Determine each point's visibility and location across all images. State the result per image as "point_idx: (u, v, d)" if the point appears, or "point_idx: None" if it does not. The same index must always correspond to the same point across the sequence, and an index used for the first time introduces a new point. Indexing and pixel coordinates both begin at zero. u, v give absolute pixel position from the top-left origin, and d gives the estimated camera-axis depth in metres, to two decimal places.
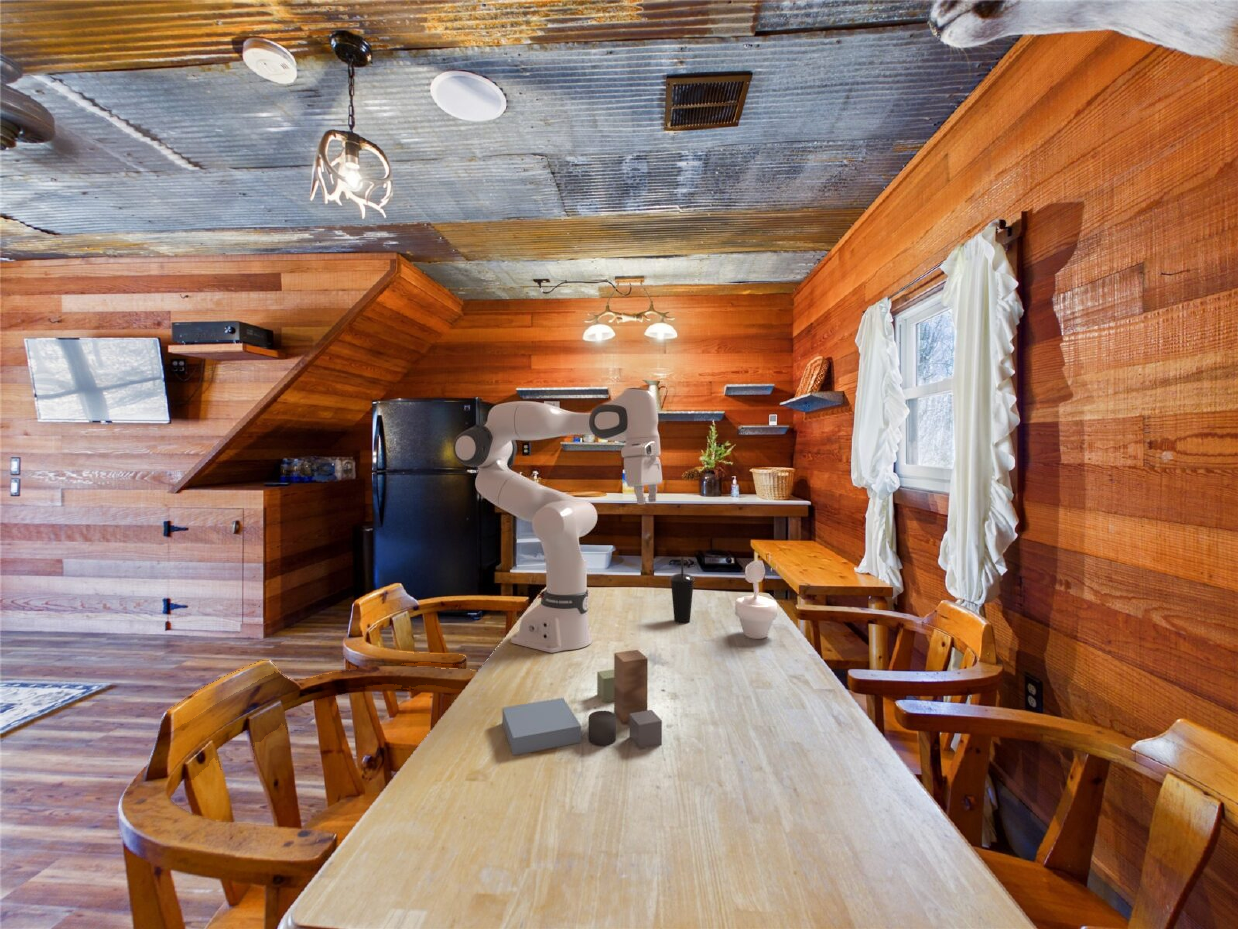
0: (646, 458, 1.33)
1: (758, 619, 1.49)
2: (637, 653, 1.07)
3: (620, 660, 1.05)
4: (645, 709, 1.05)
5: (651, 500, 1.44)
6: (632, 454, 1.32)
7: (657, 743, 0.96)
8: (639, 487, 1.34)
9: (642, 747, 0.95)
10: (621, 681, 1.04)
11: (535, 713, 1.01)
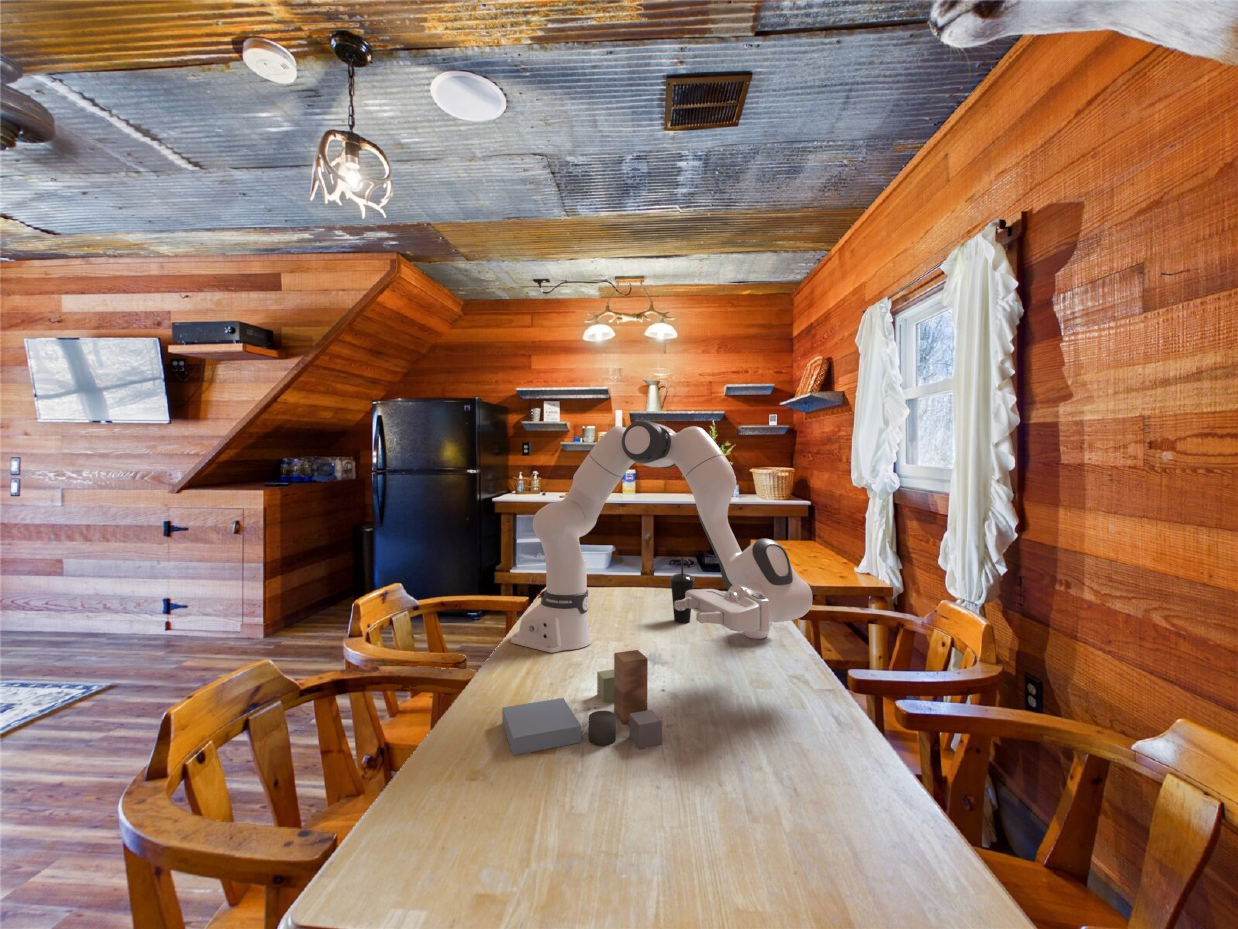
0: None
1: None
2: (637, 653, 1.07)
3: (620, 660, 1.05)
4: (645, 709, 1.05)
5: (679, 606, 1.14)
6: (763, 616, 1.07)
7: (657, 743, 0.96)
8: (721, 620, 1.06)
9: (642, 747, 0.95)
10: (621, 681, 1.04)
11: (535, 713, 1.01)
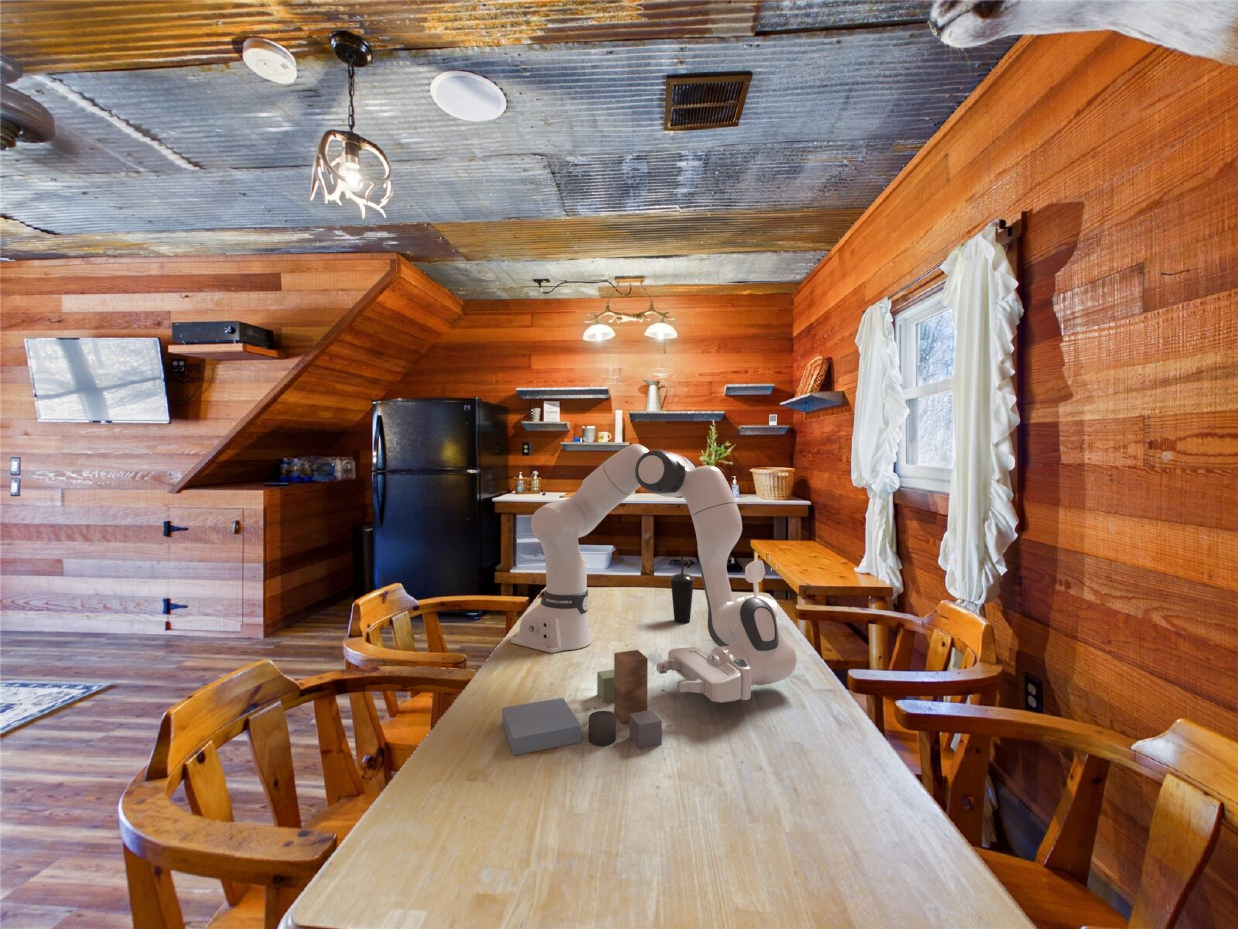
0: None
1: None
2: (637, 653, 1.07)
3: (620, 660, 1.05)
4: (645, 709, 1.05)
5: (660, 669, 1.13)
6: (745, 684, 1.06)
7: (657, 743, 0.96)
8: (702, 689, 1.05)
9: (642, 747, 0.95)
10: (621, 681, 1.04)
11: (535, 713, 1.01)
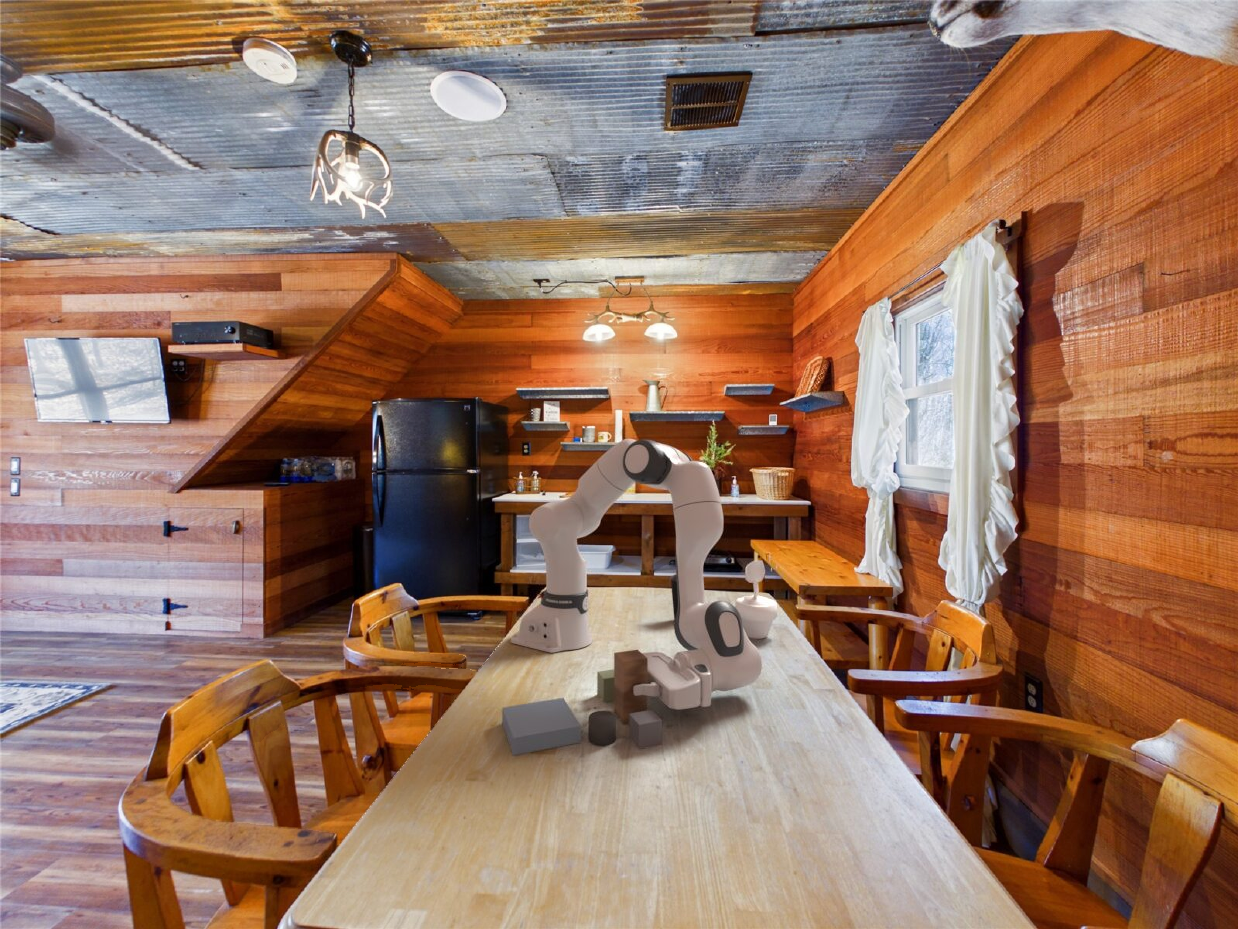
0: None
1: (758, 619, 1.49)
2: (637, 653, 1.07)
3: (620, 660, 1.05)
4: (645, 709, 1.05)
5: None
6: (704, 691, 1.02)
7: (657, 743, 0.96)
8: (657, 692, 1.03)
9: (642, 747, 0.95)
10: (621, 680, 1.04)
11: (535, 713, 1.01)
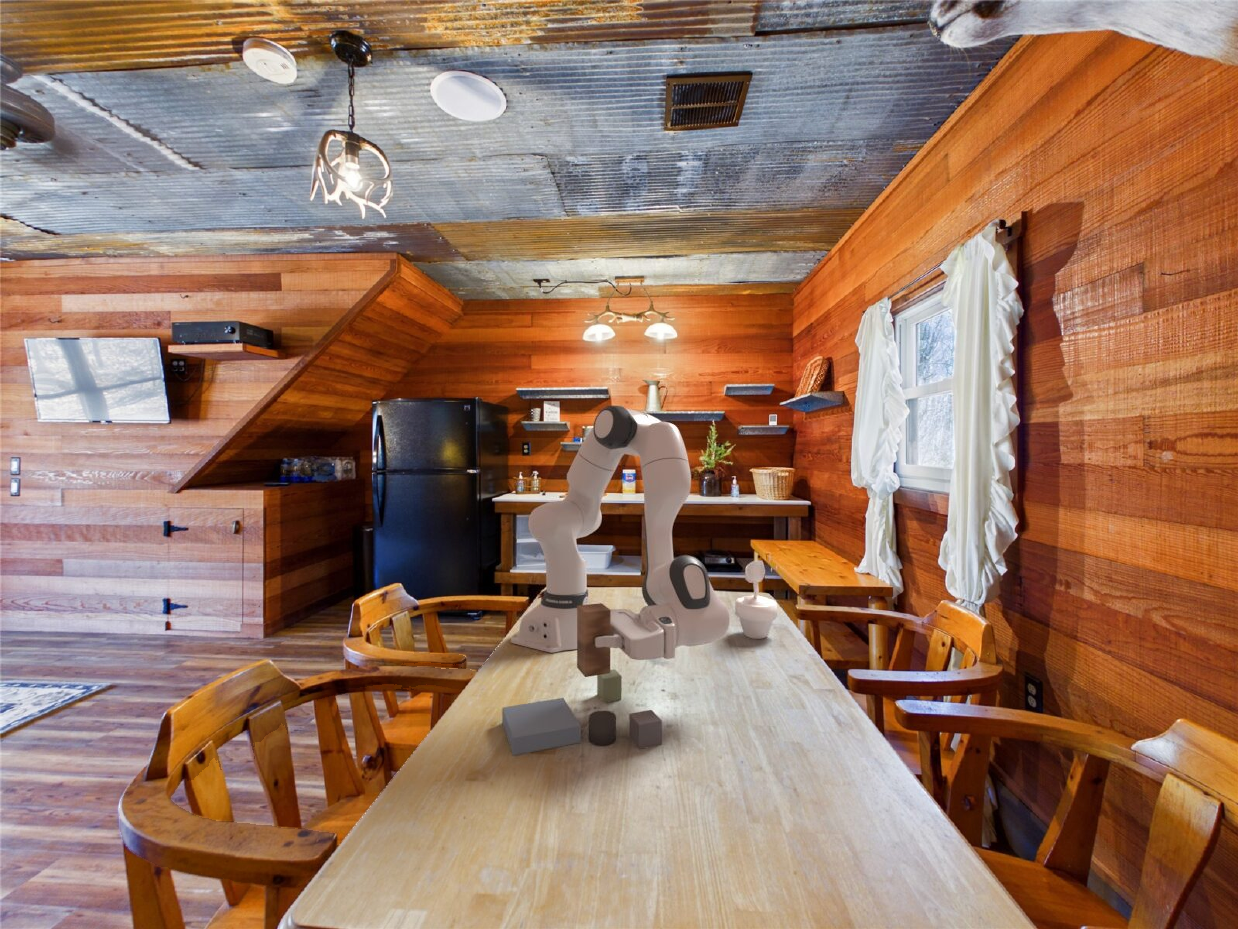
0: None
1: (758, 619, 1.49)
2: (600, 606, 1.05)
3: (582, 612, 1.02)
4: (608, 662, 1.02)
5: None
6: (668, 642, 1.00)
7: (657, 743, 0.96)
8: (619, 644, 1.00)
9: (642, 747, 0.95)
10: (583, 632, 1.01)
11: (535, 713, 1.01)
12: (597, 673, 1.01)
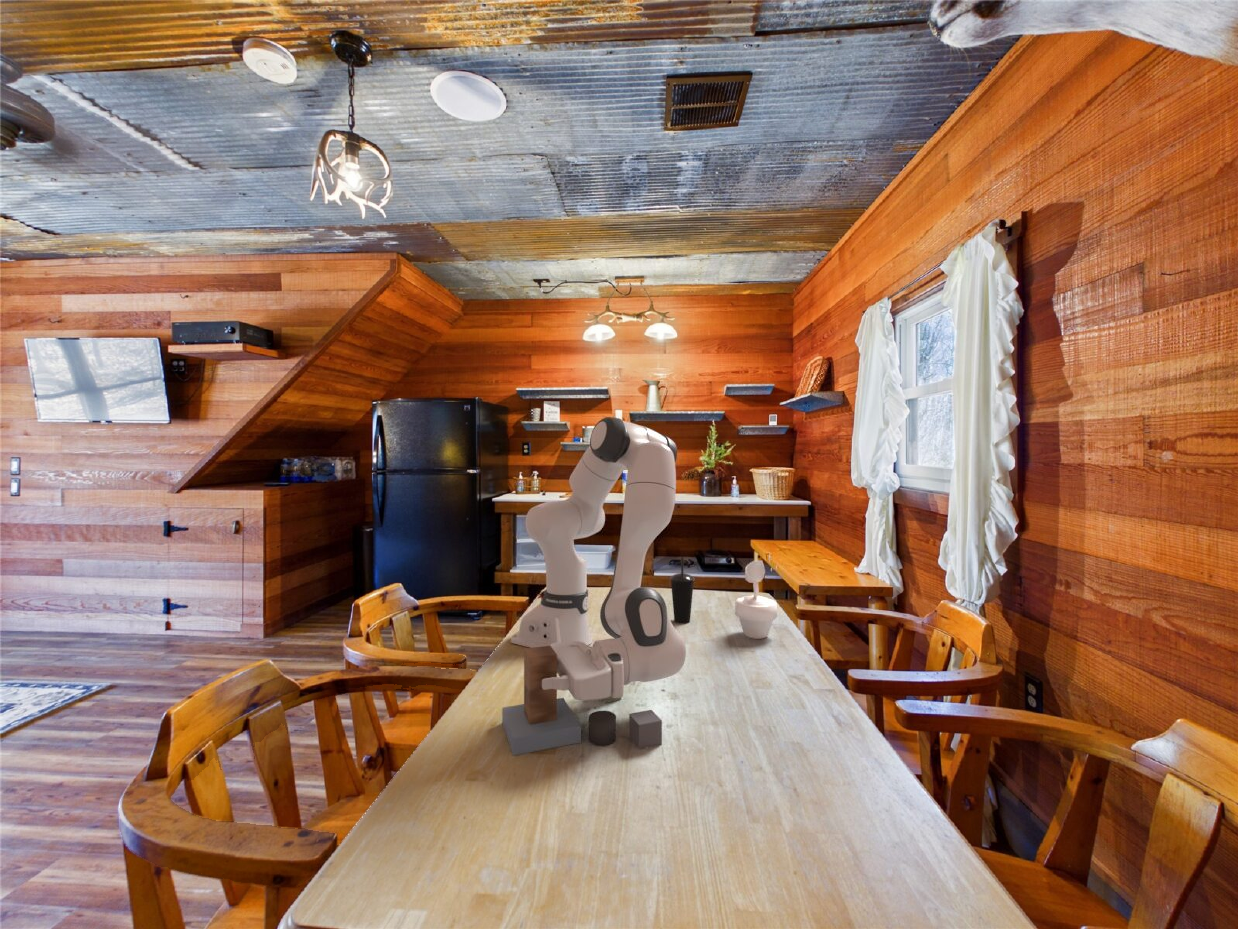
0: None
1: (758, 619, 1.49)
2: (548, 649, 1.01)
3: (527, 656, 0.98)
4: (554, 708, 0.98)
5: None
6: (615, 681, 0.96)
7: (657, 743, 0.96)
8: (567, 686, 0.95)
9: (642, 747, 0.95)
10: (528, 678, 0.98)
11: None
12: (542, 720, 0.98)
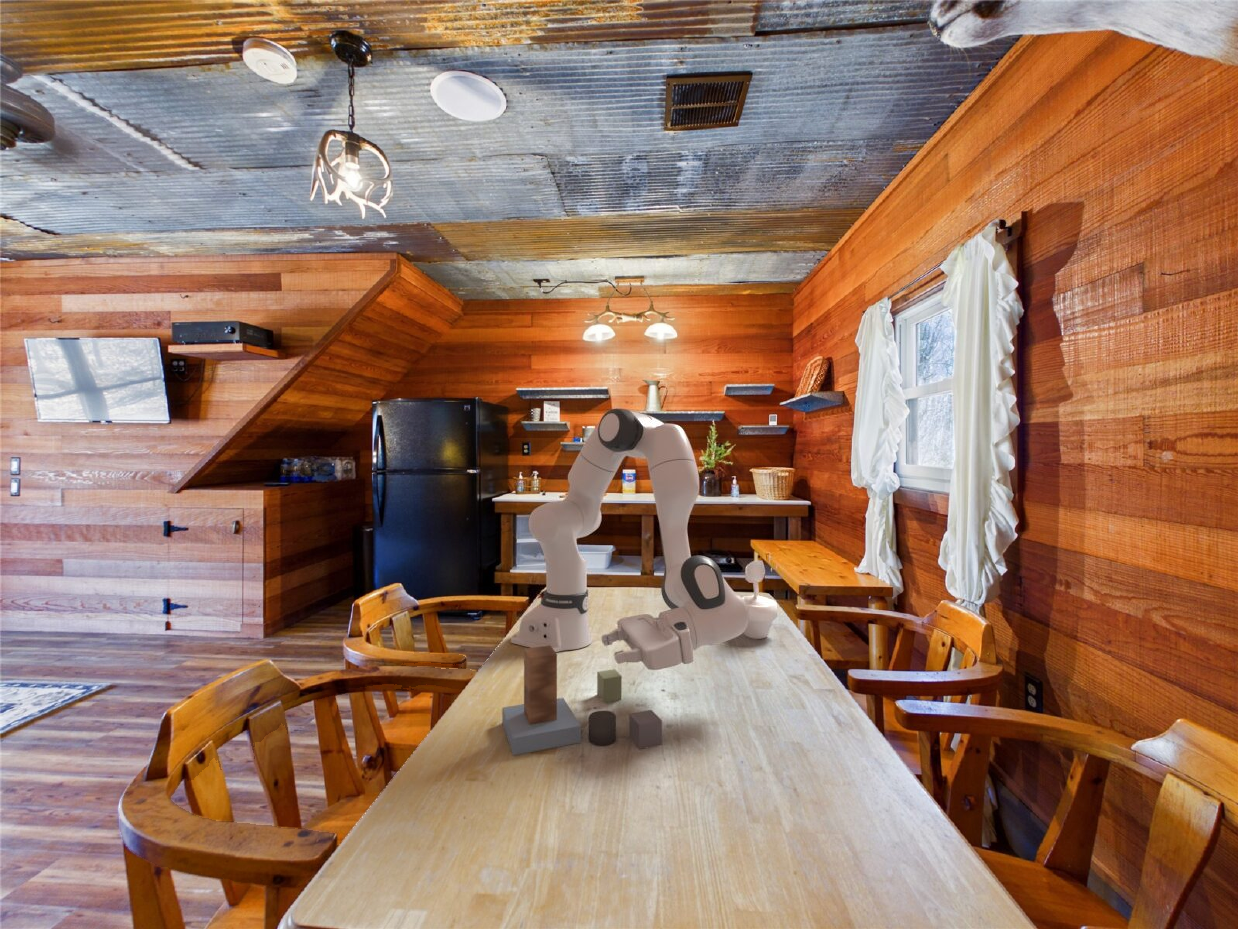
0: None
1: (758, 619, 1.49)
2: (548, 649, 1.01)
3: (527, 656, 0.98)
4: (554, 708, 0.98)
5: (605, 641, 1.10)
6: (684, 648, 1.01)
7: (657, 743, 0.96)
8: (640, 658, 1.01)
9: (642, 747, 0.95)
10: (528, 678, 0.98)
11: None
12: (542, 720, 0.98)
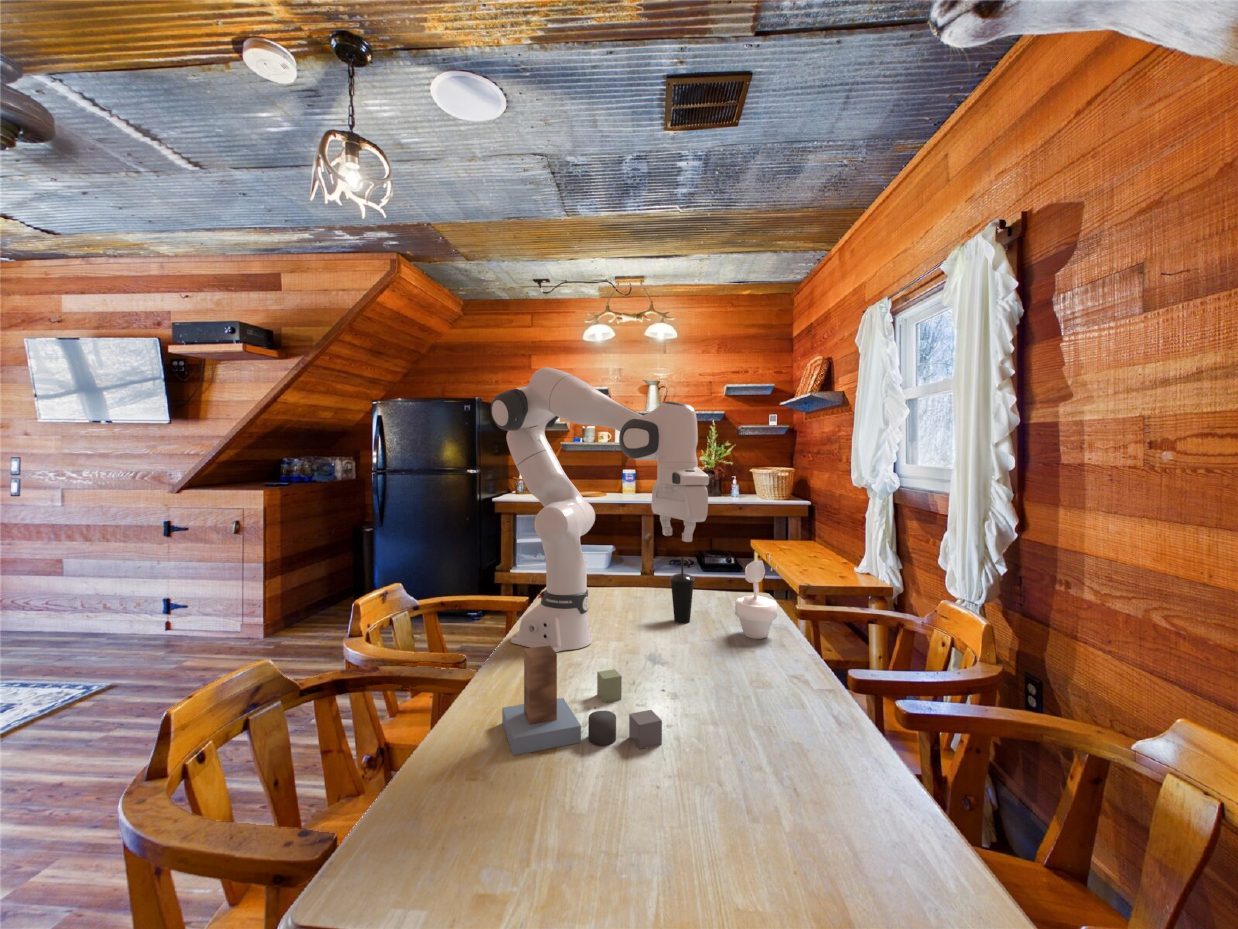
0: None
1: (758, 619, 1.49)
2: (548, 649, 1.01)
3: (527, 656, 0.98)
4: (554, 708, 0.98)
5: (668, 533, 1.23)
6: (696, 483, 1.11)
7: (657, 742, 0.96)
8: (692, 522, 1.13)
9: (642, 747, 0.95)
10: (528, 678, 0.98)
11: None
12: (542, 720, 0.98)
